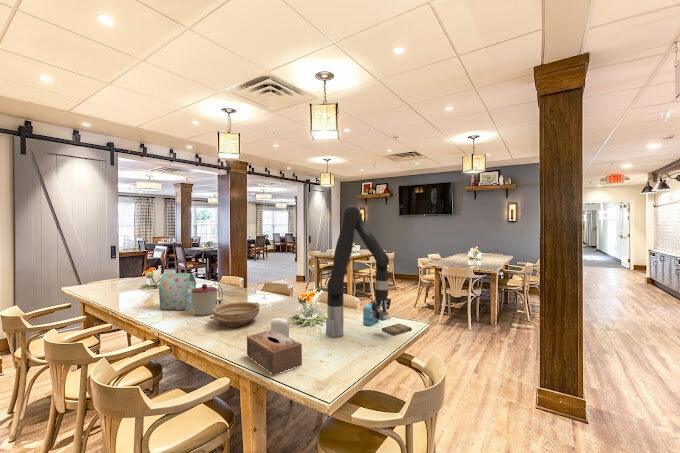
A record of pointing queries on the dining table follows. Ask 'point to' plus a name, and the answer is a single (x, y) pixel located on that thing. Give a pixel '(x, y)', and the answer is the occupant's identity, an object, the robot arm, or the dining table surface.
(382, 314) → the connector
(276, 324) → the photo printer
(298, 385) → the dining table surface
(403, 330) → the walnut board
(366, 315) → the data package
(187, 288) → the lunch bag
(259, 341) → the tissue box cover
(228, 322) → the ceramic bowl
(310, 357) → the dining table surface
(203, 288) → the canister
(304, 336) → the dining table surface
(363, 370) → the dining table surface
